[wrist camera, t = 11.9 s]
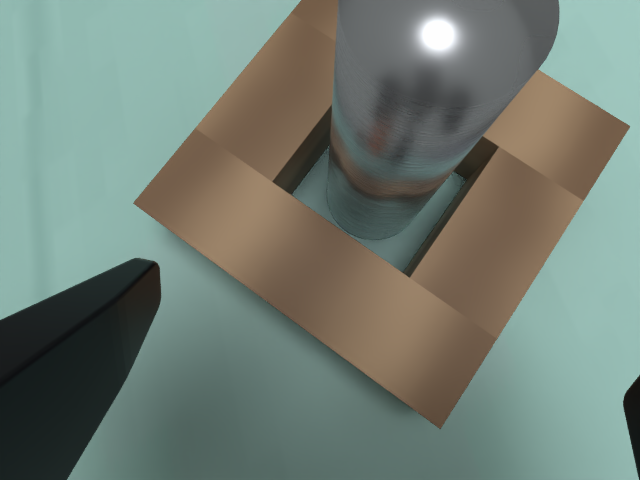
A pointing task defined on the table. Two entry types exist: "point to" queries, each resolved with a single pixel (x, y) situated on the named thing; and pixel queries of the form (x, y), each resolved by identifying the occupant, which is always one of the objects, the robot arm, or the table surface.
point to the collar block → (352, 257)
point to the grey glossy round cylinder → (421, 97)
